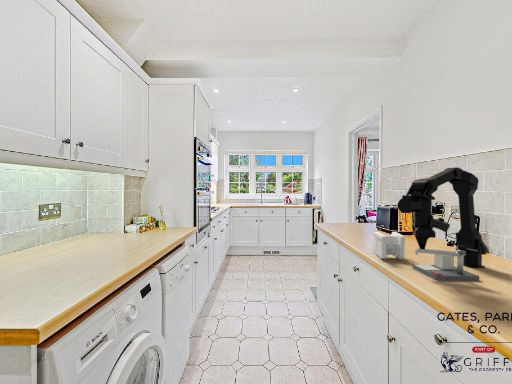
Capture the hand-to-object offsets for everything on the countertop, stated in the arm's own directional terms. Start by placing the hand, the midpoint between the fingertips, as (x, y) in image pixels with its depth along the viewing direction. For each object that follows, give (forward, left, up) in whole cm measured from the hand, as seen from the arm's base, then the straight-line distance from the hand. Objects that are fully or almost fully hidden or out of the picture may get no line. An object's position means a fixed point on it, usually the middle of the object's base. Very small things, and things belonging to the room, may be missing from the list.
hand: (422, 251), depth 101 cm
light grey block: (-10, -1, -7) cm, 12 cm away
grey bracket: (-4, +4, -7) cm, 9 cm away
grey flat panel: (-8, +1, -9) cm, 12 cm away
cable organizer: (+1, -23, -9) cm, 25 cm away
